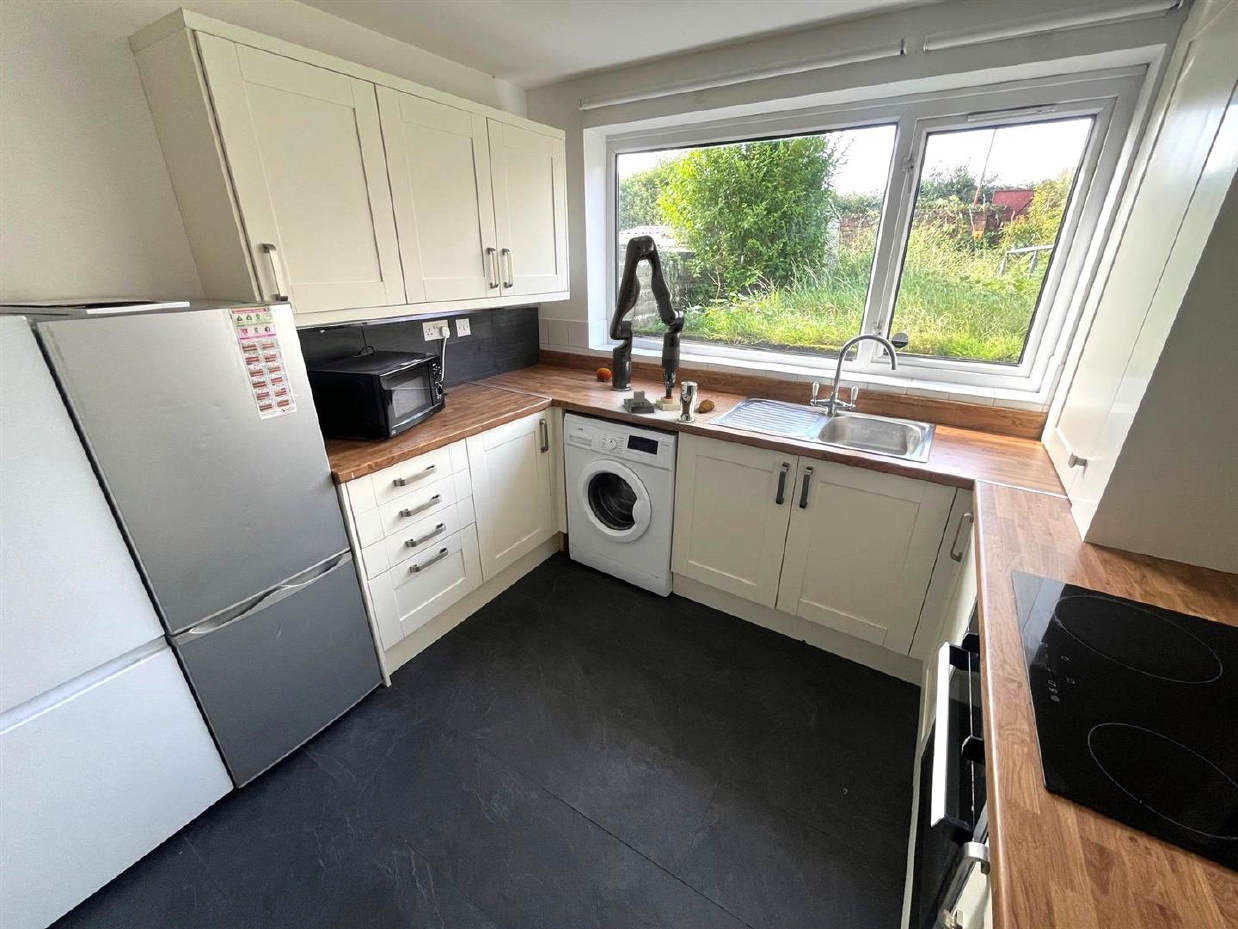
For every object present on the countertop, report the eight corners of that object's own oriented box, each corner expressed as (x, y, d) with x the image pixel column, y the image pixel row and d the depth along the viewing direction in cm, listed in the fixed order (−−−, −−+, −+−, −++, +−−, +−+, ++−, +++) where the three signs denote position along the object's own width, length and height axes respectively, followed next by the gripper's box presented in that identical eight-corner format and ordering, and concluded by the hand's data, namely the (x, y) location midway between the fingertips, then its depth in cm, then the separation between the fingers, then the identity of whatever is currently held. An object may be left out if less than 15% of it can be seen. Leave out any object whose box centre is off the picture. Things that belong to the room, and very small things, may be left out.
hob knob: (633, 402, 213) (634, 391, 211) (633, 401, 214) (633, 390, 212) (644, 402, 214) (644, 391, 212) (643, 401, 215) (643, 390, 213)
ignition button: (663, 399, 220) (663, 396, 219) (670, 399, 221) (671, 395, 220) (665, 401, 217) (665, 398, 216) (673, 401, 218) (673, 397, 217)
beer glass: (674, 419, 201) (676, 383, 195) (684, 416, 206) (687, 380, 200) (688, 423, 196) (691, 385, 191) (698, 420, 201) (701, 383, 196)
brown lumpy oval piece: (709, 415, 209) (710, 403, 207) (693, 412, 212) (694, 401, 210) (719, 407, 220) (720, 396, 218) (704, 405, 223) (705, 394, 221)
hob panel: (623, 405, 220) (623, 398, 219) (645, 404, 222) (645, 397, 221) (631, 413, 208) (631, 406, 206) (654, 412, 210) (654, 405, 209)
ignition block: (655, 403, 224) (656, 395, 222) (672, 403, 226) (673, 394, 224) (663, 410, 214) (663, 401, 212) (680, 409, 216) (681, 400, 214)
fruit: (594, 379, 261) (595, 365, 263) (596, 384, 269) (598, 370, 270) (609, 380, 260) (610, 366, 261) (611, 385, 268) (612, 371, 269)
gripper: (657, 354, 217) (655, 393, 223) (667, 359, 205) (664, 400, 211) (674, 354, 219) (671, 393, 225) (684, 359, 207) (681, 400, 213)
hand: (668, 396), depth 218 cm, fingers closed
